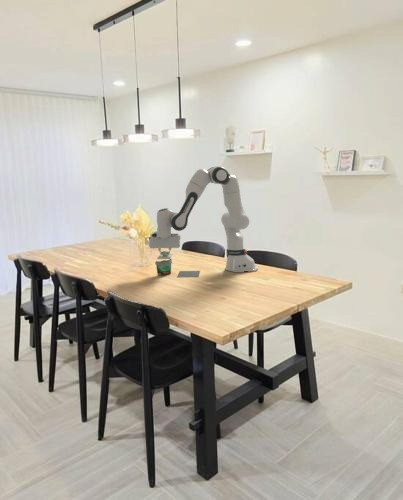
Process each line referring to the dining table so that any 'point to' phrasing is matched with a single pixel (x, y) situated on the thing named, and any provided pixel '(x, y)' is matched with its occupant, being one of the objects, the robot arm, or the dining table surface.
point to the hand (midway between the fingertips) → (165, 254)
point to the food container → (163, 267)
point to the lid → (165, 255)
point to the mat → (188, 274)
